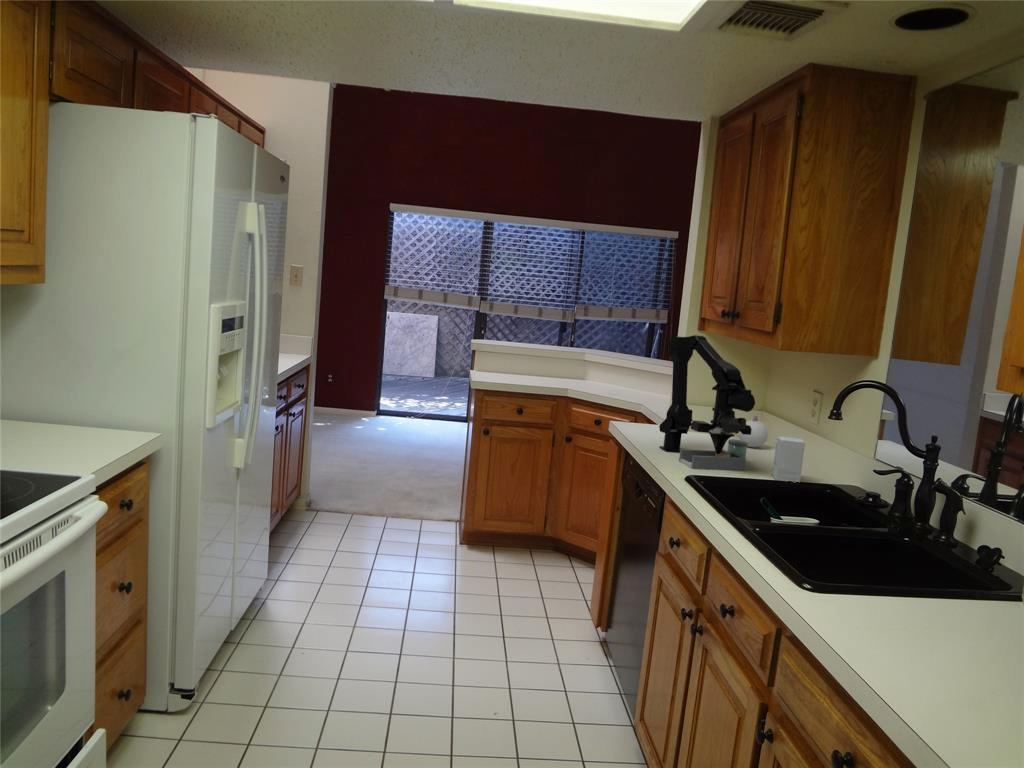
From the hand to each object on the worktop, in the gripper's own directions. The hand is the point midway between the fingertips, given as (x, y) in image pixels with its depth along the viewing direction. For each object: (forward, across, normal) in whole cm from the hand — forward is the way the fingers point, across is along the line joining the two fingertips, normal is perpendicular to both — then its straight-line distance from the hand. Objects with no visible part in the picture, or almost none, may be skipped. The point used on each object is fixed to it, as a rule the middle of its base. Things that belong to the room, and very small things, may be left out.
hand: (717, 453), depth 245 cm
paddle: (+4, +2, 0) cm, 4 cm away
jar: (+4, +11, +8) cm, 14 cm away
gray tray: (+4, -2, 0) cm, 4 cm away
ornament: (+4, +32, +34) cm, 47 cm away
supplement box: (+4, +16, -14) cm, 22 cm away
